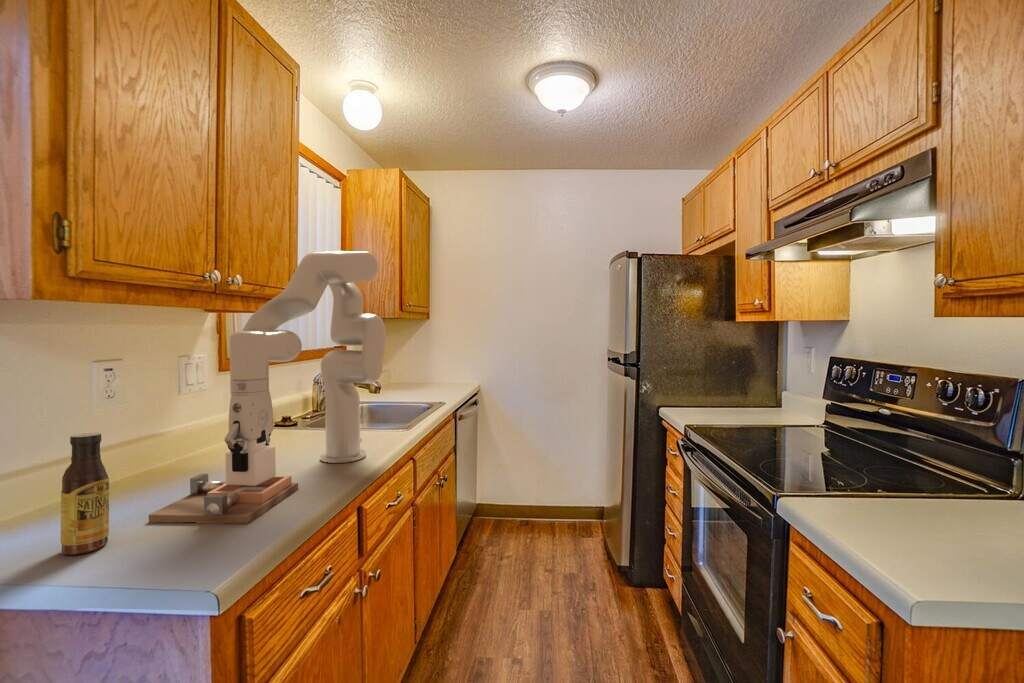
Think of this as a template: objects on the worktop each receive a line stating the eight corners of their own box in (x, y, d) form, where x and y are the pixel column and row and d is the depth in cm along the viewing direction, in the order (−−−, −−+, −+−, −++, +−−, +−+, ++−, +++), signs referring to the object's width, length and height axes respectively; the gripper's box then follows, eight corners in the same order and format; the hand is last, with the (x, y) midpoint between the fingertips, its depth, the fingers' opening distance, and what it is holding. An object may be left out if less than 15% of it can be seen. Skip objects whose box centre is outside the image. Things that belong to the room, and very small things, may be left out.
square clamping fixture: (216, 488, 113) (215, 466, 113) (298, 488, 113) (297, 467, 112) (148, 522, 93) (148, 496, 93) (247, 523, 93) (247, 497, 92)
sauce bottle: (80, 559, 79) (76, 440, 78) (50, 555, 80) (47, 438, 79) (120, 541, 85) (117, 431, 85) (92, 538, 86) (89, 430, 86)
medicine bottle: (247, 475, 110) (246, 423, 110) (276, 476, 109) (275, 424, 109) (225, 485, 103) (224, 430, 102) (255, 486, 102) (254, 430, 101)
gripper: (242, 392, 96) (244, 478, 97) (286, 382, 114) (288, 455, 114) (206, 392, 97) (208, 478, 97) (256, 382, 114) (257, 455, 115)
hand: (251, 465), depth 106 cm, fingers closed on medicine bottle, 7 cm apart
